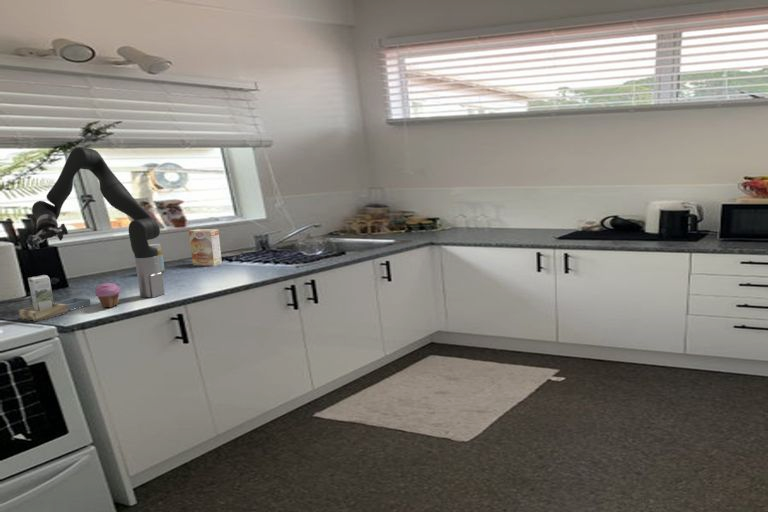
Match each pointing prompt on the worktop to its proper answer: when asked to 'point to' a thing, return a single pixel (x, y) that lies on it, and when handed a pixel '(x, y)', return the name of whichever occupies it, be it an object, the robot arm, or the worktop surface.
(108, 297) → the cupcake
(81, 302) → the blue-grey shallow square dish
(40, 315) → the tray
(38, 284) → the syrup box
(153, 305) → the worktop surface
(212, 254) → the coffeecake box
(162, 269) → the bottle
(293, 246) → the worktop surface
